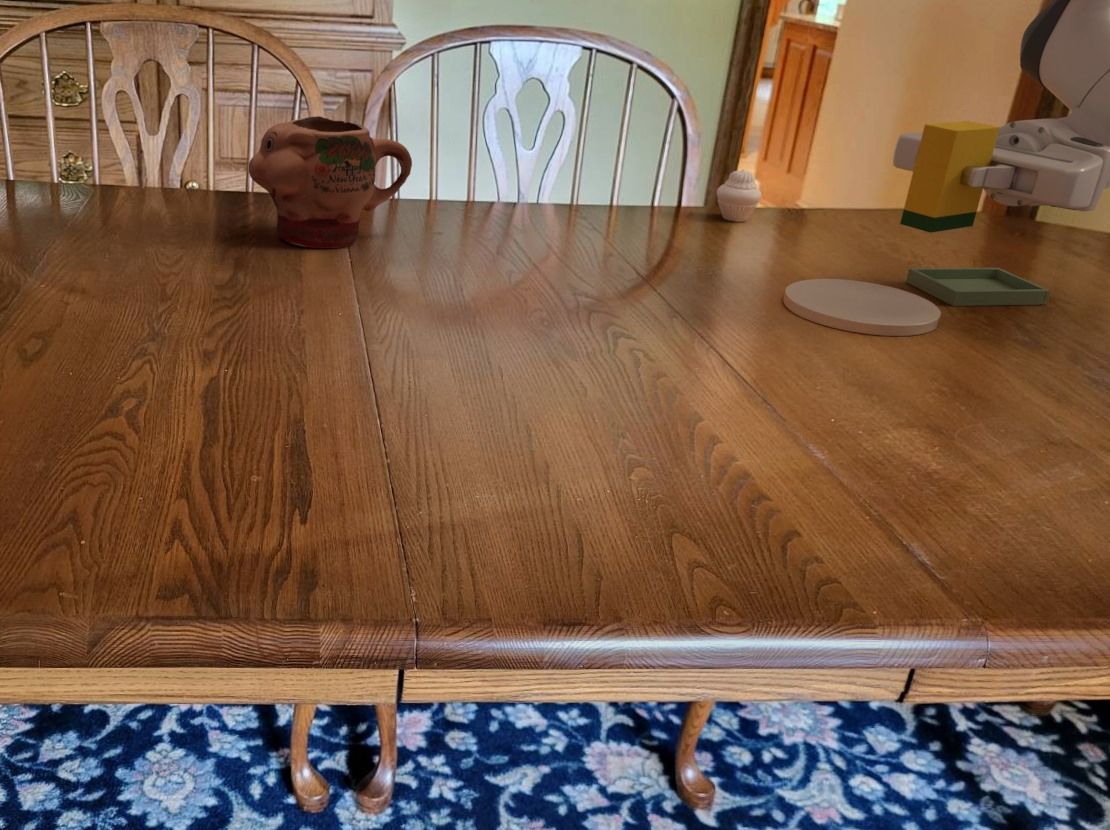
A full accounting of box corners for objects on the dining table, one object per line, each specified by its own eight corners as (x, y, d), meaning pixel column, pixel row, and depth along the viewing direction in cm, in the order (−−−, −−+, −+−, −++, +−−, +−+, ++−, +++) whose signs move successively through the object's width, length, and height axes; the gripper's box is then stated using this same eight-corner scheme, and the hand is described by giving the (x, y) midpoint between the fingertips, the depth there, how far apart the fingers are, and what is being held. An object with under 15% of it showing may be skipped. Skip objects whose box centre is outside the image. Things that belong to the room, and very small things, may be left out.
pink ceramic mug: (387, 222, 145) (392, 113, 139) (423, 246, 135) (430, 130, 129) (238, 230, 137) (236, 115, 131) (265, 256, 127) (264, 133, 121)
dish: (994, 281, 133) (998, 267, 133) (1045, 304, 125) (1050, 290, 125) (905, 282, 131) (909, 268, 130) (952, 306, 123) (956, 291, 122)
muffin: (766, 222, 155) (775, 172, 152) (735, 226, 152) (744, 175, 149) (733, 212, 160) (741, 163, 157) (703, 215, 157) (711, 166, 154)
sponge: (942, 217, 116) (967, 120, 112) (972, 226, 114) (1000, 127, 109) (899, 224, 113) (924, 124, 109) (930, 232, 110) (957, 130, 106)
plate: (932, 301, 125) (934, 291, 124) (944, 345, 111) (947, 334, 110) (785, 281, 129) (787, 271, 128) (780, 321, 115) (782, 310, 115)
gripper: (946, 115, 124) (866, 121, 117) (1131, 151, 108) (1051, 160, 101) (932, 172, 126) (853, 181, 120) (1110, 214, 111) (1030, 227, 104)
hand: (945, 171), depth 110 cm, fingers closed on sponge, 3 cm apart
